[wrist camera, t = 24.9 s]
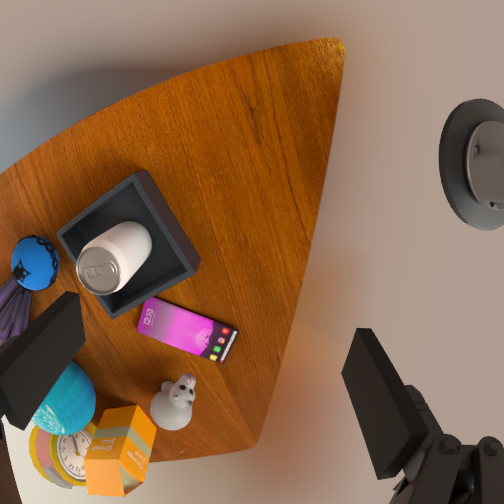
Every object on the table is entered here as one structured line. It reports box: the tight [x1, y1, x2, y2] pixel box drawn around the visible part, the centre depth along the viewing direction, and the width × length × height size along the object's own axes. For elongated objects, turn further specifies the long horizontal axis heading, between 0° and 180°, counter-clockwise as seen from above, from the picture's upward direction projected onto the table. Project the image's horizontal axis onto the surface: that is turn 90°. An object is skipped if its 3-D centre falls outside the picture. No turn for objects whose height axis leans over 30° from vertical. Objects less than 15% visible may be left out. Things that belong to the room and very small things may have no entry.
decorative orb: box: [31, 360, 96, 435], centre depth 43 cm, size 15×15×15 cm
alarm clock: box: [29, 421, 97, 489], centre depth 46 cm, size 15×8×18 cm, turn 20°
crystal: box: [0, 276, 32, 344], centre depth 43 cm, size 7×12×20 cm
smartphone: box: [137, 297, 239, 364], centre depth 47 cm, size 7×15×1 cm, turn 67°
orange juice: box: [83, 404, 157, 497], centre depth 44 cm, size 8×9×20 cm
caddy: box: [55, 171, 201, 320], centre depth 40 cm, size 15×15×6 cm
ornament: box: [11, 235, 59, 291], centre depth 38 cm, size 9×9×10 cm
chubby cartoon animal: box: [150, 374, 196, 430], centre depth 47 cm, size 7×12×8 cm, turn 147°
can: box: [76, 221, 152, 295], centre depth 36 cm, size 6×6×12 cm
